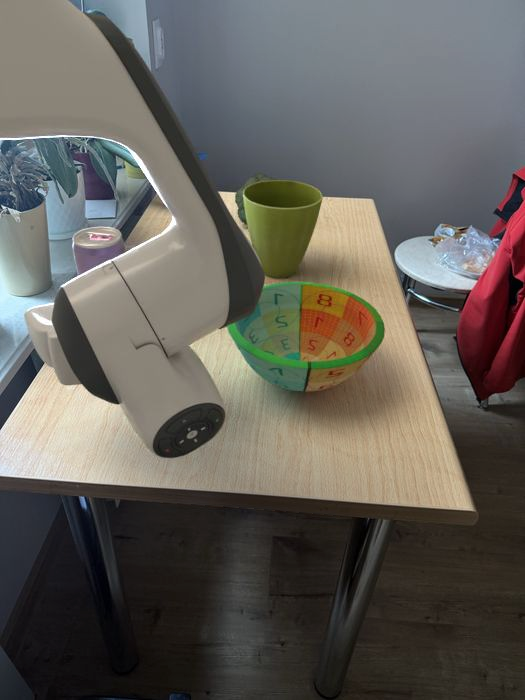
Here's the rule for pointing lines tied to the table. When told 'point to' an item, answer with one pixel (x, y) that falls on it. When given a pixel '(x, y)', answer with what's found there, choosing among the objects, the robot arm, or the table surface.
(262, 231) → the flower pot
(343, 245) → the table surface
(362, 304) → the bowl
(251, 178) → the vegetable
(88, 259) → the beverage can
